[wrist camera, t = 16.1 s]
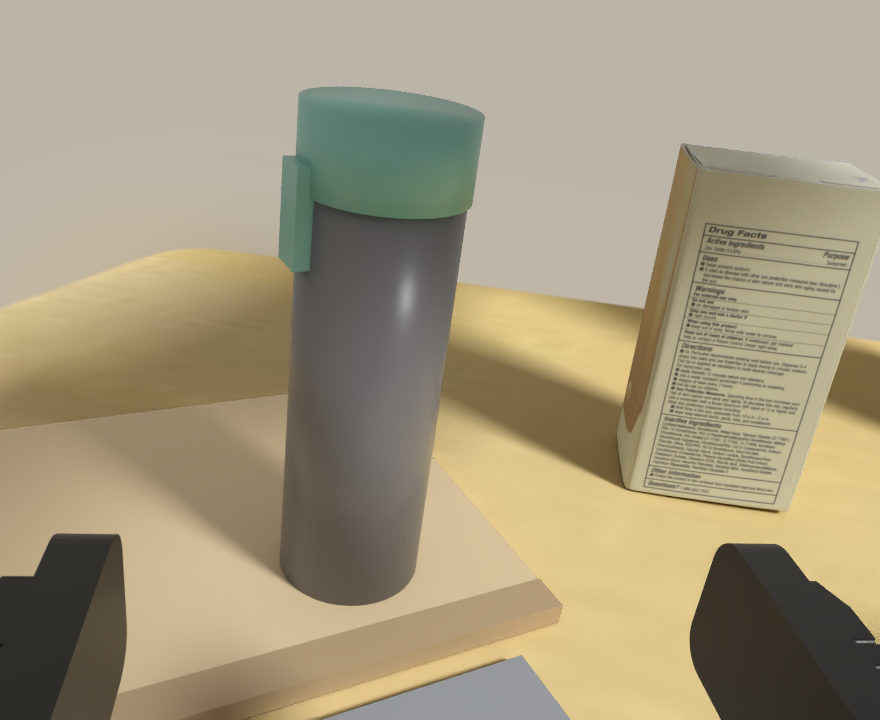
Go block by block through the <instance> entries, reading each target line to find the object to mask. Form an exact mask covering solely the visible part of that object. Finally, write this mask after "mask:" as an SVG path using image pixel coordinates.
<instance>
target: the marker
mask: <svg viewBox="0 0 880 720" xmlns="http://www.w3.org/2000/svg"><path fill="white" fill-rule="evenodd" d="M484 120H485V116H484V115H483V114H482V113H481V112H479V111H478V110H476V109H474V108H471V107H468V106H466V105H463V104H459V103H456V102H452V101H448V100H444V99H440V98H435V97H430V96H425V95H420V94H414V93H407V92H401V91H393V90H384V89H373V88H359V87H319V88H311V89H307V90H303V91H301V92H300V93H299V100H298V119H297V141H296V156H283V164H282V187H281V211H280V235H279V258H280V259H281V260H282V261H283V262H284V263H285V265H286V266H287V267H288V268H289V269H290V270H291V271H292V272H294V286H293V306H292V326H291V345H290V365H289V385H288V404H287V424H286V443H285V463H284V483H283V502H282V522H281V542H280V566H281V569H282V571H283V574H284V575H285V577H286V579H287V580H288V581H289V582H290V583H291V584H292V585H293V586H294V587H295V588H296V589H297V590H299V591H300V592H302V593H303V594H305V595H307V596H309V597H311V598H313V599H316V600H318V601H321V602H325V603H328V604H334V605H341V606H361V605H369V604H373V603H377V602H381V601H384V600H386V599H388V598H390V597H393V596H394V595H396V594H397V593H399V592H400V591H401V590H403V589H404V588H405V587H406V586H407V585H408V584H409V582H410V581H411V579H412V578H413V575H414V573H415V569H416V563H417V556H418V549H419V542H420V535H421V528H422V521H423V514H424V507H425V500H426V493H427V486H428V479H429V472H430V465H431V458H432V452H433V445H434V438H435V431H436V424H437V417H438V410H439V403H440V396H441V389H442V382H443V375H444V368H445V361H446V354H447V347H448V340H449V333H450V326H451V319H452V312H453V305H454V298H455V291H456V284H457V277H458V270H459V263H460V256H461V248H462V242H463V235H464V228H465V221H466V214H467V210H468V209H470V208H471V206H472V202H473V195H474V188H475V182H476V175H477V168H478V161H479V154H480V147H481V140H482V133H483V127H484Z"/></svg>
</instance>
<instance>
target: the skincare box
mask: <svg viewBox="0 0 880 720" xmlns="http://www.w3.org/2000/svg"><path fill="white" fill-rule="evenodd" d="M879 242H880V181H879V180H877V179H876V178H874V177H872V176H871V175H869V174H867V173H865V172H864V171H863V170H861V169H858V168H856V167H855V166H853V165H852V164H848V163H840V162H828V161H821V160H810V159H804V158H797V157H787V156H777V155H771V154H760V153H754V152H744V151H737V150H728V149H722V148H712V147H703V146H696V145H690V144H681V147H680V151H679V156H678V160H677V165H676V170H675V175H674V179H673V184H672V188H671V193H670V197H669V202H668V206H667V211H666V215H665V219H664V224H663V228H662V233H661V237H660V242H659V246H658V250H657V255H656V260H655V264H654V268H653V272H652V277H651V282H650V286H649V291H648V295H647V299H646V304H645V308H644V313H643V317H642V322H641V326H640V331H639V336H638V340H637V344H636V349H635V353H634V357H633V362H632V367H631V371H630V376H629V380H628V385H627V389H626V394H625V398H624V403H623V407H622V411H621V416H620V420H619V424H618V429H617V442H618V451H619V458H620V465H621V471H622V477H623V482H624V485H625V487H626V488H628V489H631V490H635V491H642V492H648V493H654V494H661V495H669V496H675V497H681V498H689V499H697V500H704V501H711V502H718V503H725V504H732V505H738V506H746V507H754V508H763V509H771V510H779V511H788V510H789V508H790V505H791V503H792V500H793V496H794V493H795V490H796V488H797V485H798V482H799V479H800V476H801V473H802V470H803V467H804V464H805V461H806V458H807V455H808V452H809V449H810V446H811V443H812V440H813V437H814V435H815V432H816V429H817V426H818V423H819V420H820V417H821V414H822V411H823V408H824V405H825V402H826V399H827V396H828V394H829V390H830V387H831V384H832V381H833V379H834V376H835V373H836V370H837V367H838V364H839V361H840V358H841V355H842V352H843V349H844V346H845V343H846V340H847V337H848V334H849V331H850V328H851V325H852V322H853V319H854V316H855V313H856V310H857V307H858V304H859V301H860V298H861V295H862V292H863V289H864V287H865V284H866V281H867V278H868V275H869V272H870V269H871V266H872V263H873V260H874V257H875V254H876V251H877V248H878V245H879Z"/></svg>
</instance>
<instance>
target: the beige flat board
mask: <svg viewBox="0 0 880 720" xmlns="http://www.w3.org/2000/svg"><path fill="white" fill-rule="evenodd" d="M287 404H288V394H281V395H273V396H265V397H257V398H249V399H241V400H233V401H225V402H217V403H209V404H201V405H193V406H185V407H177V408H169V409H161V410H153V411H145V412H137V413H129V414H121V415H113V416H105V417H97V418H89V419H81V420H73V421H65V422H57V423H49V424H41V425H33V426H25V427H17V428H9V429H1V430H0V578H1V577H2V576H34V574H35V572H36V570H37V567H38V565H39V563H40V561H41V559H42V556H43V554H44V552H45V550H46V547H47V545H48V543H49V541H50V539H51V538H52V536H53V535H54V534H57V533H69V534H118V535H119V536H120V538H121V542H122V551H123V568H124V584H125V601H126V618H127V643H126V654H125V662H124V668H123V673H122V678H121V682H120V685H119V689H118V693H117V697H116V700H115V704H114V708H113V712H112V715H111V719H110V720H243V719H246V718H249V717H252V716H256V715H259V714H262V713H265V712H269V711H272V710H275V709H278V708H282V707H285V706H288V705H291V704H295V703H298V702H301V701H304V700H308V699H311V698H314V697H317V696H321V695H324V694H327V693H330V692H334V691H337V690H340V689H343V688H347V687H350V686H353V685H356V684H360V683H363V682H366V681H369V680H372V679H376V678H379V677H382V676H385V675H389V674H392V673H395V672H398V671H402V670H405V669H408V668H411V667H415V666H418V665H421V664H424V663H428V662H431V661H434V660H437V659H441V658H444V657H447V656H450V655H454V654H457V653H460V652H463V651H467V650H470V649H473V648H476V647H480V646H483V645H486V644H489V643H493V642H496V641H499V640H502V639H506V638H509V637H512V636H515V635H519V634H522V633H525V632H528V631H532V630H535V629H538V628H541V627H545V626H548V625H551V624H554V623H558V622H559V618H560V614H561V610H562V606H563V605H562V604H561V603H560V602H559V601H558V599H557V598H556V597H555V596H554V595H553V594H552V592H551V591H550V590H549V589H548V588H547V587H546V586H545V584H544V583H543V582H542V581H541V580H540V579H538V578H537V576H536V575H535V574H534V573H533V572H532V571H531V570H530V568H529V567H528V566H527V565H526V564H525V563H524V561H523V560H522V559H521V558H520V557H519V556H518V555H517V553H516V552H515V551H514V550H513V549H512V548H511V547H510V545H509V544H508V543H507V542H506V541H505V540H504V538H503V537H502V536H501V535H500V534H499V533H498V532H497V530H496V529H495V528H494V527H493V526H492V525H491V523H490V522H489V521H488V520H487V519H486V518H485V517H484V515H483V514H482V513H481V512H480V511H479V510H478V508H477V507H476V506H475V505H474V504H473V503H472V502H471V500H470V499H469V498H468V497H467V496H466V495H465V493H464V492H463V491H462V490H461V489H460V488H459V487H458V485H457V484H456V483H455V482H454V481H453V480H452V478H451V477H450V476H449V475H448V474H447V473H446V472H445V470H444V469H443V468H442V467H441V466H440V465H439V463H438V462H437V461H436V460H435V459H434V458H433V457H432V458H431V465H430V472H429V479H428V486H427V493H426V500H425V507H424V514H423V521H422V528H421V535H420V542H419V549H418V556H417V563H416V569H415V573H414V575H413V578H412V579H411V581H410V582H409V584H408V585H407V586H406V587H405V588H404V589H403V590H401V591H400V592H399V593H397V594H396V595H394V596H393V597H390V598H388V599H386V600H384V601H381V602H377V603H373V604H369V605H361V606H341V605H334V604H328V603H325V602H321V601H318V600H316V599H313V598H311V597H309V596H307V595H305V594H303V593H302V592H300V591H299V590H297V589H296V588H295V587H294V586H293V585H292V584H291V583H290V582H289V581H288V580H287V579H286V577H285V575H284V574H283V571H282V569H281V566H280V542H281V522H282V502H283V483H284V463H285V443H286V424H287ZM322 720H570V718H569V717H568V716H567V714H566V713H565V712H564V710H563V709H562V708H561V706H560V705H559V704H558V702H557V701H556V700H555V698H554V697H553V696H552V695H551V693H550V692H549V691H548V689H547V688H546V687H545V685H544V684H543V683H542V681H541V680H540V679H539V677H538V676H537V675H536V673H535V672H534V671H533V669H532V668H531V667H530V665H529V664H528V663H527V662H526V660H525V659H524V658H523V656H522V655H521V656H518V657H514V658H511V659H508V660H505V661H502V662H499V663H496V664H493V665H490V666H486V667H483V668H480V669H477V670H474V671H471V672H468V673H465V674H462V675H459V676H455V677H452V678H449V679H446V680H443V681H440V682H437V683H434V684H431V685H428V686H424V687H421V688H418V689H415V690H412V691H409V692H406V693H403V694H400V695H397V696H393V697H390V698H387V699H384V700H381V701H378V702H375V703H372V704H369V705H366V706H362V707H359V708H356V709H353V710H350V711H347V712H344V713H341V714H338V715H335V716H331V717H328V718H325V719H322Z"/></svg>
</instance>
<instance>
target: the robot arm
mask: <svg viewBox="0 0 880 720" xmlns="http://www.w3.org/2000/svg"><path fill="white" fill-rule="evenodd" d="M126 643H127V618H126V601H125V584H124V568H123V551H122V542H121V538H120V536H119V535H118V534H69V533H57V534H54V535H53V536H52V538H51V539H50V541H49V543H48V545H47V547H46V550H45V552H44V554H43V556H42V559H41V561H40V563H39V565H38V567H37V570H36V572H35V574H34V576H2V577H1V578H0V720H110V719H111V715H112V712H113V708H114V704H115V700H116V697H117V693H118V689H119V685H120V682H121V678H122V673H123V668H124V662H125V654H126ZM690 651H691V657H692V661H693V665H694V667H695V670H696V672H697V674H698V676H699V678H700V680H701V682H702V684H703V686H704V688H705V690H706V692H707V694H708V696H709V698H710V699H711V701H712V703H713V705H714V707H715V709H716V711H717V713H718V715H719V717H720V719H721V720H880V644H876V643H875V638H874V636H873V635H872V634H871V633H870V631H869V630H868V629H867V628H866V626H865V625H864V624H863V623H862V621H861V620H860V619H859V618H858V616H857V615H856V614H855V613H854V611H853V610H852V609H851V608H850V607H849V606H848V605H846V604H845V603H844V602H842V601H841V600H840V599H839V598H837V597H836V596H835V595H833V594H832V593H831V592H829V591H828V590H827V589H825V588H824V587H823V586H822V585H820V584H819V583H818V582H816V581H809V580H808V579H807V577H806V576H805V575H804V573H803V572H802V571H801V570H800V568H799V567H798V566H797V564H796V563H795V562H794V560H793V559H792V558H791V557H790V555H789V554H788V553H787V552H786V550H785V549H784V548H782V547H781V546H779V545H777V544H732V543H727V544H723V545H721V546H720V547H719V548H718V550H717V551H716V553H715V556H714V558H713V561H712V564H711V567H710V570H709V573H708V576H707V579H706V582H705V585H704V588H703V591H702V594H701V597H700V600H699V603H698V606H697V609H696V612H695V615H694V618H693V621H692V625H691V630H690Z"/></svg>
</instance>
